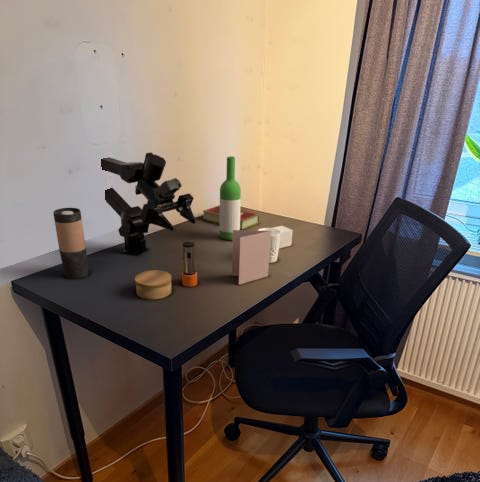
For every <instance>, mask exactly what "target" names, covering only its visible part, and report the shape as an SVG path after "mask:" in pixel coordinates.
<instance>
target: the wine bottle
mask: <svg viewBox="0 0 480 482" xmlns="http://www.w3.org/2000/svg"><path fill="white" fill-rule="evenodd" d="M241 197H242V189H241V186H240V184H239V182H238V181H237V180H236V157H235V156H232V155H231V156H227V157H226V178H225V180H224V181H223V182H222V183H221V185H220V188H219V205H220V224H219V237H220V238H221V239H222V240H225V241H233V230H240V210H241V203H242V202H241V201H242V200H241V199H242V198H241Z"/></svg>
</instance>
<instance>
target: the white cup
mask: <svg viewBox="0 0 480 482" xmlns="http://www.w3.org/2000/svg"><path fill="white" fill-rule="evenodd" d="M257 231H271V235H270V251H269V264H272V263H275V262H277V261H278V255H279V251H280V248H279V244H280V236H281V231H279V230H277V229H274V227H262V228H258V230H257Z"/></svg>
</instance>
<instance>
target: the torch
mask: <svg viewBox="0 0 480 482" xmlns="http://www.w3.org/2000/svg"><path fill="white" fill-rule="evenodd" d="M182 249H183V250H182V253H183V255H182V257H183V258H182V259H183V271H182V272H181V285H182V286H184V287H189V288H191V287H195V286H197V285H198V272H197V271H196V266H195V263H196V262H195V242H193V241H184V242H182Z"/></svg>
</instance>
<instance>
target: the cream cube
mask: <svg viewBox="0 0 480 482" xmlns="http://www.w3.org/2000/svg"><path fill="white" fill-rule="evenodd" d="M273 228H274V229H277V230H279V231H281V236H280V244H279V249H282V248H286V247H290V246H292V245H293V244H292V242H293V232H294V231H293V229H291V228H289V227H286V226H285V225H279V226H274V227H273Z"/></svg>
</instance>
